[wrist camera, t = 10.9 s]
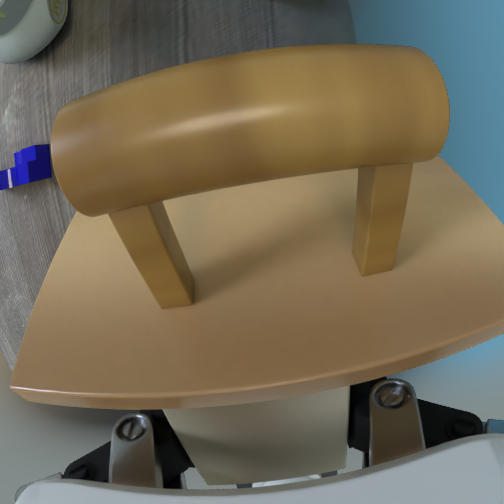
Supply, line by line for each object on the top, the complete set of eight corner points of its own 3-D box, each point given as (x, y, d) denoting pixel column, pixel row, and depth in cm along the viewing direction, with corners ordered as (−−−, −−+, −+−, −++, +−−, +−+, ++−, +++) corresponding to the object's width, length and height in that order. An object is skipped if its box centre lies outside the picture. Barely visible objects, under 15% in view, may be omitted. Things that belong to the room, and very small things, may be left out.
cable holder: (48, 144, 25) (25, 145, 22) (51, 177, 27) (29, 182, 23) (0, 160, 25) (-23, 164, 22) (3, 189, 27) (-19, 195, 23)
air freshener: (71, 47, 22) (13, 22, 13) (14, 77, 22) (-46, 68, 13) (73, -26, 19) (28, -61, 9) (18, 5, 19) (-31, -16, 10)
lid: (539, 316, 5) (631, 134, 1) (28, 402, 5) (-122, 260, 2) (343, 91, 17) (338, 15, 13) (139, 126, 17) (117, 53, 14)
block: (314, 287, 11) (351, 372, 6) (322, 381, 12) (346, 469, 8) (185, 308, 11) (155, 398, 7) (215, 397, 12) (206, 486, 8)
